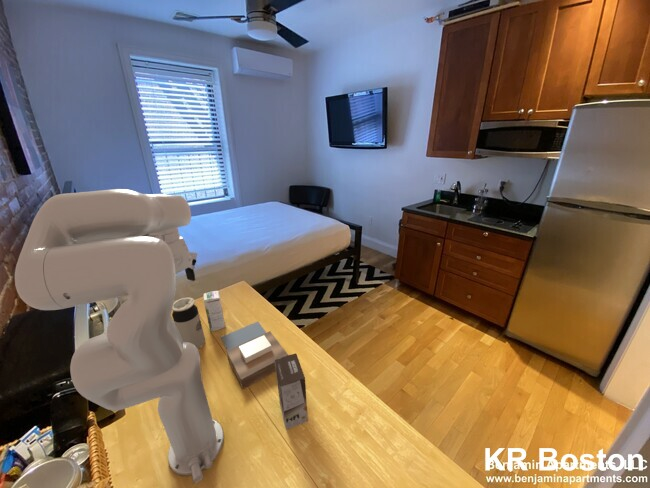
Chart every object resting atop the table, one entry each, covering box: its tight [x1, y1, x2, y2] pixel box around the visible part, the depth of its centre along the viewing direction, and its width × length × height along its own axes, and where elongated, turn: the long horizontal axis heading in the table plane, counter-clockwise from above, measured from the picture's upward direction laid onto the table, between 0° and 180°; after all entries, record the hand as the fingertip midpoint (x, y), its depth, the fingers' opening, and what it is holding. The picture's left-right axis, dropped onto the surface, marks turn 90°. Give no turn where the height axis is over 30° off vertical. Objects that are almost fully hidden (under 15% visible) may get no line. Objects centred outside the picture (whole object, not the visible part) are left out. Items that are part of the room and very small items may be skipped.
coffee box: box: [274, 353, 309, 430], centre depth 73 cm, size 9×6×16 cm
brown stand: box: [226, 330, 289, 390], centre depth 91 cm, size 14×16×4 cm
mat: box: [220, 321, 267, 351], centre depth 102 cm, size 12×15×1 cm
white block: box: [239, 335, 272, 363], centre depth 91 cm, size 6×9×2 cm, turn 126°
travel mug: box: [171, 297, 206, 350], centre depth 97 cm, size 8×8×18 cm
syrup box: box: [203, 290, 226, 332], centre depth 106 cm, size 6×6×14 cm
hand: (178, 287), depth 86 cm, fingers open, 9 cm apart
